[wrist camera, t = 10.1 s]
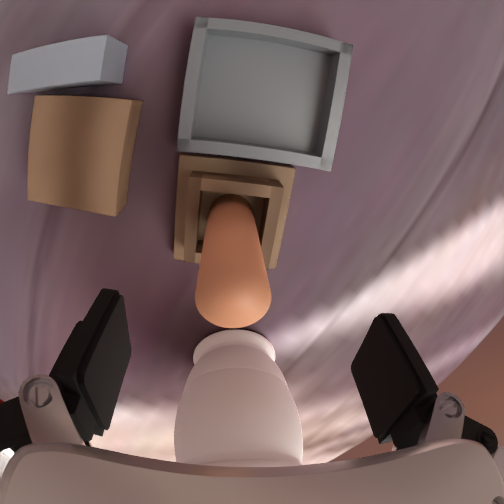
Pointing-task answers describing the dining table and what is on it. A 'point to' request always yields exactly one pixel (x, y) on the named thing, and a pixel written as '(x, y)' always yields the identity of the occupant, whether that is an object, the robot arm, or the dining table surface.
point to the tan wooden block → (82, 151)
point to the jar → (237, 406)
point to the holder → (230, 182)
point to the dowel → (232, 266)
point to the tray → (263, 93)
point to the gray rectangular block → (68, 65)
